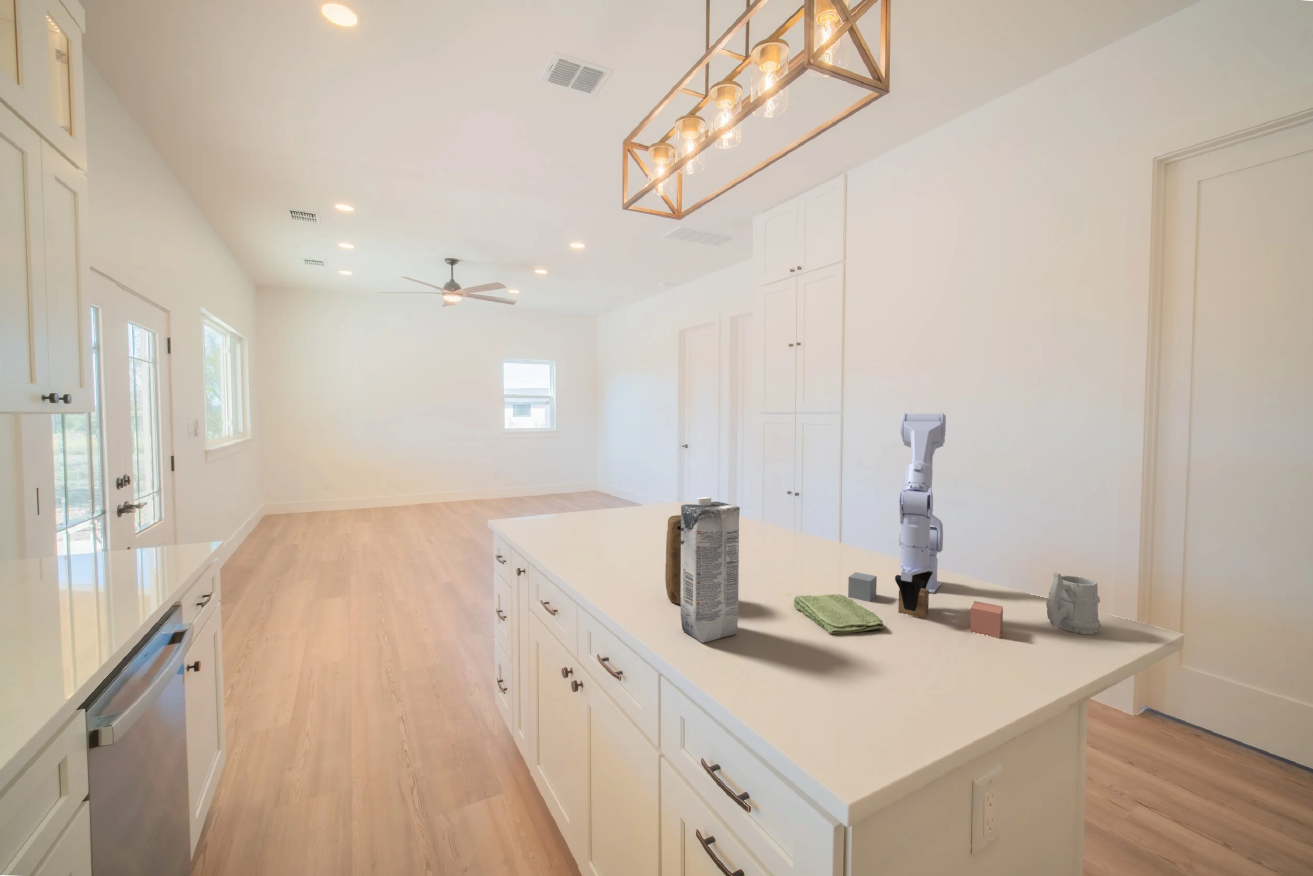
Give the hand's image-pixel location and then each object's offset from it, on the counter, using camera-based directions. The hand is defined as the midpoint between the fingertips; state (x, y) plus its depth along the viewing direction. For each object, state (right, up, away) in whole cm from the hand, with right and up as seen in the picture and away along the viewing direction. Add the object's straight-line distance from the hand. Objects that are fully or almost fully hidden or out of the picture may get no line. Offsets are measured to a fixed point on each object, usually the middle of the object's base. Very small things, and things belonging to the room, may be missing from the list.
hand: (913, 605), depth 116 cm
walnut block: (0, -2, 0) cm, 2 cm away
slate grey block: (-7, -1, +10) cm, 12 cm away
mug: (+27, -2, -9) cm, 29 cm away
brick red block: (+10, -2, -10) cm, 14 cm away
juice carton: (-46, -2, -11) cm, 48 cm away
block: (-49, -1, +7) cm, 50 cm away
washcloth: (-18, -2, -3) cm, 19 cm away
